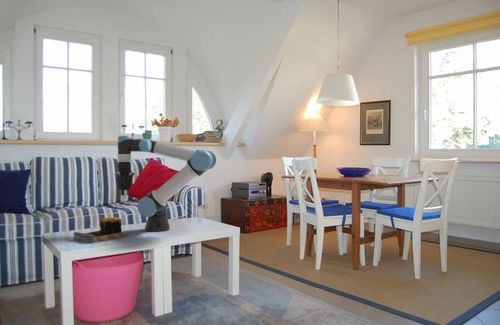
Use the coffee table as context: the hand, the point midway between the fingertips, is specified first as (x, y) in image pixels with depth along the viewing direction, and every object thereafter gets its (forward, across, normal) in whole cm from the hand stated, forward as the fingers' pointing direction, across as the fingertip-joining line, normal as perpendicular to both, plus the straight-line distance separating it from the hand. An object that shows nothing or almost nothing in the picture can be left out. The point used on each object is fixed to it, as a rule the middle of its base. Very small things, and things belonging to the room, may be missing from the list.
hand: (124, 200), depth 238 cm
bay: (+19, +16, 0) cm, 25 cm away
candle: (+20, +10, 0) cm, 22 cm away
